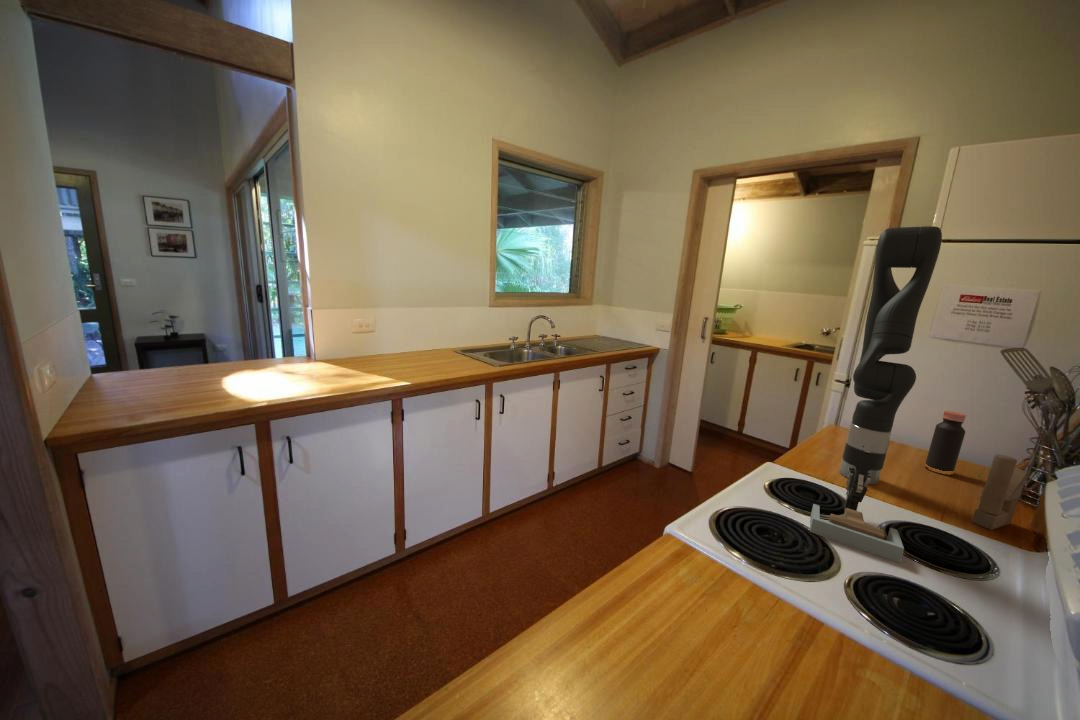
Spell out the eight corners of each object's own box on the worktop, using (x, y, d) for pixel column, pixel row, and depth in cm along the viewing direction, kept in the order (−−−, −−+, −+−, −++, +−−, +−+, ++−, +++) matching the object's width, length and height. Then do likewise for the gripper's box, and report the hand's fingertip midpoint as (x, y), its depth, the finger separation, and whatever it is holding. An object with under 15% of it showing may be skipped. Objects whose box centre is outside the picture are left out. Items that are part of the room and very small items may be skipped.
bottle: (927, 471, 131) (944, 412, 127) (921, 464, 137) (937, 408, 133) (956, 478, 127) (973, 418, 124) (948, 470, 133) (965, 413, 130)
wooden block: (1011, 524, 101) (1033, 457, 97) (991, 531, 96) (1013, 461, 93) (990, 516, 104) (1011, 450, 101) (970, 522, 100) (991, 454, 96)
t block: (826, 518, 95) (830, 502, 95) (874, 533, 90) (879, 517, 90) (827, 535, 88) (831, 519, 87) (879, 553, 83) (884, 536, 82)
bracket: (810, 516, 95) (813, 503, 95) (893, 543, 87) (897, 529, 87) (810, 531, 89) (813, 518, 88) (900, 562, 80) (904, 548, 80)
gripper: (844, 433, 101) (829, 497, 104) (848, 448, 90) (831, 518, 93) (883, 442, 97) (866, 508, 100) (891, 459, 86) (872, 531, 89)
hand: (849, 513), depth 97 cm, fingers closed
